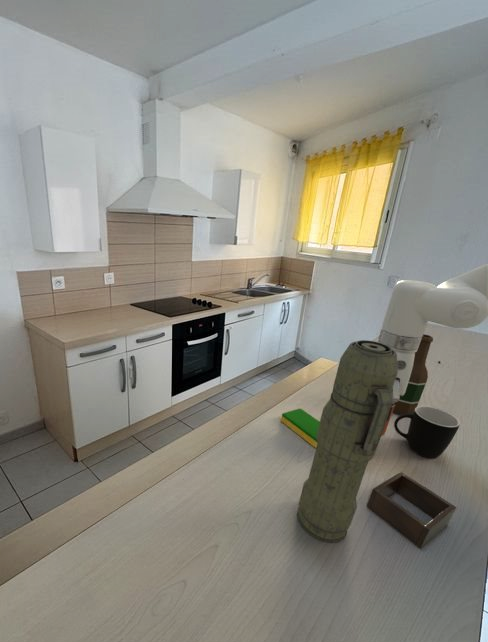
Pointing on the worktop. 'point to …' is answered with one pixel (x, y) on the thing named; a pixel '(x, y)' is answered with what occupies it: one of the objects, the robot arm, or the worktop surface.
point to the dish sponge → (302, 425)
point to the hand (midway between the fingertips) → (374, 410)
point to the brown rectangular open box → (403, 518)
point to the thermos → (347, 438)
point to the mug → (429, 430)
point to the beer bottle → (415, 379)
